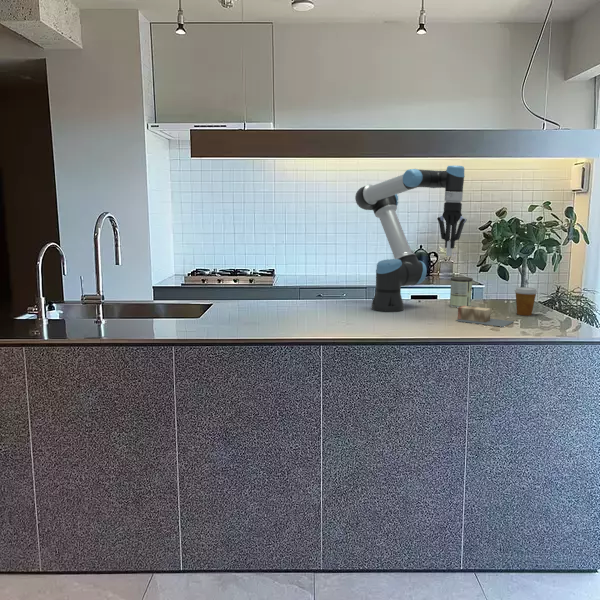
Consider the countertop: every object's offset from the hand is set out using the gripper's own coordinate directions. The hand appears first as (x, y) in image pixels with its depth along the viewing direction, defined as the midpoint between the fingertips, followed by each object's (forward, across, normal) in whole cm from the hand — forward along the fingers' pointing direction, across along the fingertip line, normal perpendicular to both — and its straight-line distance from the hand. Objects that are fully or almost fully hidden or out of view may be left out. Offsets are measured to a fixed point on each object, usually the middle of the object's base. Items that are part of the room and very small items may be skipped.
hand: (448, 255), depth 250 cm
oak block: (+23, +10, -6) cm, 26 cm away
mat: (+26, +21, -6) cm, 34 cm away
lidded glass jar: (+27, -3, +25) cm, 37 cm away
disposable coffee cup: (+26, +28, +24) cm, 45 cm away
